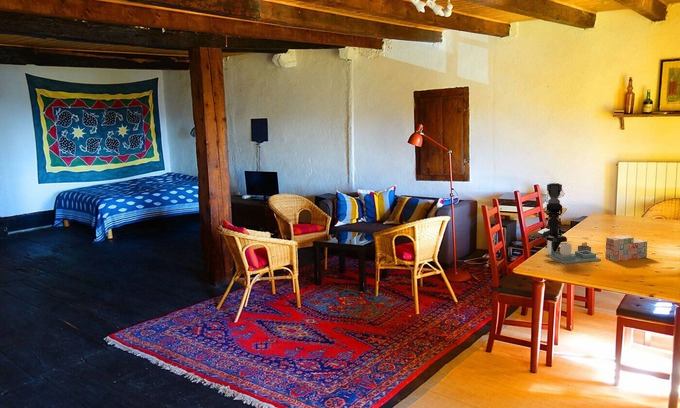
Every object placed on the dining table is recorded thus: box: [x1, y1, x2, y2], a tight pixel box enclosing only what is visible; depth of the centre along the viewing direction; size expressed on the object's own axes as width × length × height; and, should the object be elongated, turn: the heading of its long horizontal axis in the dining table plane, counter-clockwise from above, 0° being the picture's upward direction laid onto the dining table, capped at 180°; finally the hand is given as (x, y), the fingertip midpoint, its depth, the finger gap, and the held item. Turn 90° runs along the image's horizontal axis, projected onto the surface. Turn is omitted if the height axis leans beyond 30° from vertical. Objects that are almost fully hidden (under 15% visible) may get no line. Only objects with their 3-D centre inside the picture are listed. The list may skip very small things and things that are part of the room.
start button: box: [581, 241, 588, 248], centre depth 309 cm, size 3×3×3 cm
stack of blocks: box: [604, 234, 648, 262], centre depth 292 cm, size 21×6×12 cm, turn 104°
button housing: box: [577, 244, 592, 252], centre depth 309 cm, size 5×5×3 cm
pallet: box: [548, 242, 602, 265], centre depth 295 cm, size 14×22×9 cm, turn 100°
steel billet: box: [546, 240, 559, 255], centre depth 305 cm, size 4×4×8 cm
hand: (552, 250), depth 306 cm, fingers closed on steel billet, 4 cm apart
